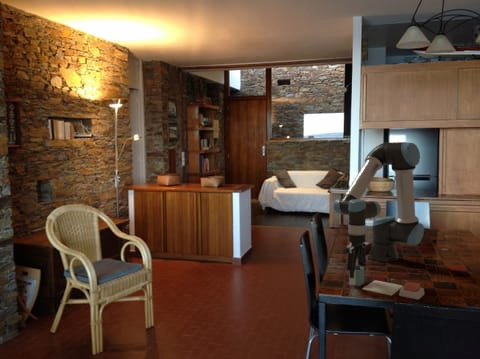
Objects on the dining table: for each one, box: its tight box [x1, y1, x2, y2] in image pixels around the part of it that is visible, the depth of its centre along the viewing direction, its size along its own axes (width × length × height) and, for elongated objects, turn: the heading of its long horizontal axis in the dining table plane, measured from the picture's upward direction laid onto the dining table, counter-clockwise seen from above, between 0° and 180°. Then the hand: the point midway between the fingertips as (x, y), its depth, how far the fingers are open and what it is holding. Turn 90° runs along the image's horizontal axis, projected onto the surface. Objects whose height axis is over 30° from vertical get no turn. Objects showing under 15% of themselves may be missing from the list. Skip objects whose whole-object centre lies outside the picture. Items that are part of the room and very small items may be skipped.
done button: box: [403, 281, 421, 291], centre depth 188 cm, size 5×5×2 cm
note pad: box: [362, 279, 404, 297], centre depth 197 cm, size 14×13×1 cm
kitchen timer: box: [348, 228, 373, 247], centre depth 277 cm, size 14×14×15 cm
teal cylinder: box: [348, 264, 365, 287], centre depth 203 cm, size 5×5×8 cm
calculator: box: [345, 242, 371, 254], centre depth 263 cm, size 11×4×15 cm
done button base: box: [398, 286, 425, 301], centre depth 188 cm, size 8×8×3 cm
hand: (356, 281), depth 204 cm, fingers open, 8 cm apart
